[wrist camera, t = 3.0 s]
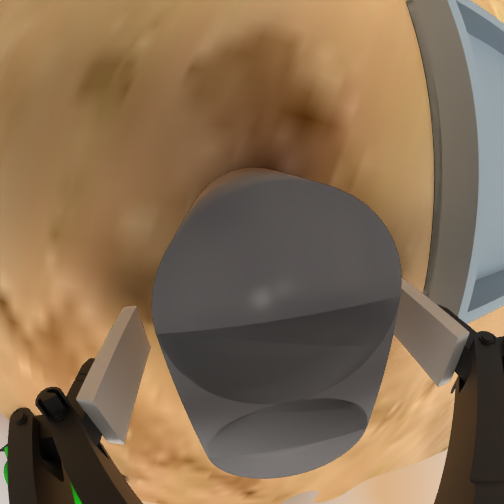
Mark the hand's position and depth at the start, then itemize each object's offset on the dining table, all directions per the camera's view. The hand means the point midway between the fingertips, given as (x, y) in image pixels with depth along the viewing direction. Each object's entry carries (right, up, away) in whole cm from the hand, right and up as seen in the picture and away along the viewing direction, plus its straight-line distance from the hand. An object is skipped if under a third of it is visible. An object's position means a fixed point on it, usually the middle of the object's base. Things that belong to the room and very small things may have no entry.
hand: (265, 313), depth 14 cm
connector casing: (0, 0, +2) cm, 2 cm away
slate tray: (+19, +11, 0) cm, 22 cm away
